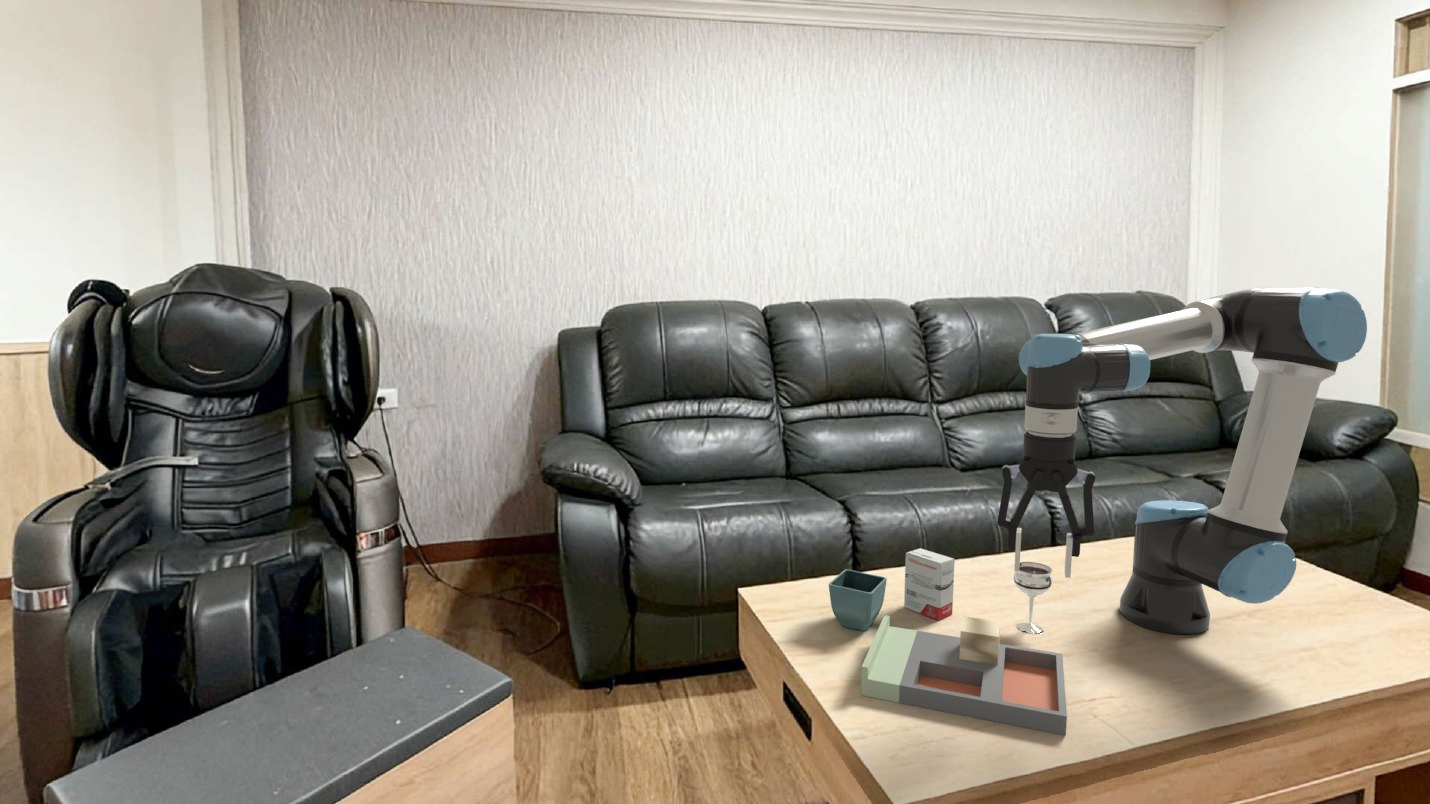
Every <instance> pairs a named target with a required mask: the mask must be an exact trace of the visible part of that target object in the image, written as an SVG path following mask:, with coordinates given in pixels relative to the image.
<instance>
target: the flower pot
mask: <svg viewBox="0 0 1430 804" xmlns="http://www.w3.org/2000/svg"><path fill="white" fill-rule="evenodd" d="M886 587H887V577H886V576H881V575H877V574H876V575H875V574H871V573H867V572H865V573H864V572H861V571H858V570H852V569H844V570H843V571H841V572H840V573H839V574H838V575H837V576H836V577H835V578H834V579H833V580H831V581H830V582H829V583H828V589H829V590H828V591H829V598H830V599H829V600H830V605H831V609H832V613H833V615H834V617H835V619H836V620H837V622H838V624H840V626H842V627H846V628H850V629H854V630H859V631H862V632H863V631H865V632H866V631H867V630H868V629H869V627H870V626H871V625H872V624H873V623H874V621H875V620H876V619H877V617H878V616H879V614H880V612H881V609H882V607H883V604H884V600H885V594H886Z"/></svg>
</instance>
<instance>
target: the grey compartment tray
mask: <svg viewBox="0 0 1430 804" xmlns="http://www.w3.org/2000/svg"><path fill="white" fill-rule="evenodd" d="M890 619H891V617H890V615H887V614H885V615H883V617H882V620H881V621H880V623H879V627H878V628H877V631H876V633H875V636H874V638H873V640H872V642H871V644H870V646H869V649H868V652H867V654H866V656H865V657H864V661H863V662H862V665H861V691H860V692H861V694H860V696H863V697H868V698H874V699H879V700H883V701H887V702H894V703H898V704H902V705H903V704H905V705H908V706H913V707H919V708H923V709H924V708H925V709H929V710H934V711H940V712H944V713H949V714H955V715H960V716H965V717H970V718H974V719H980V720H985V721H991V722H995V723H1000V724H1006V725H1011V726H1015V727H1020V728H1024V729H1025V728H1027V729H1032V730H1037V731H1039V732H1040V731H1041V732H1046V733H1052V734H1057V735H1062V736H1067V722H1068V715H1067V714H1068V713H1067V698H1066V686H1065V673H1064V672H1065V671H1064V657H1063V653H1060V652H1055V651H1054V652H1052V651H1046V650H1040V649H1036V648H1035V649H1034V648H1029V647H1022V646H1017V645H1009V644H1003V643H999V654H998V665H993V664H987V663H981V662H975V661H969V660H963V659H959V657H960V636H953V635H949V634H948V635H947V634H946V635H945V634H940V633H934V632H928V631H923V630H922V631H921V630H916V629H915V630H914V629H911V628H909V629H908V628H903V627H898V626H897V627H895V626H890V625H891V624H890V623H891V622H890Z"/></svg>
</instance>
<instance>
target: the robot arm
mask: <svg viewBox="0 0 1430 804" xmlns="http://www.w3.org/2000/svg"><path fill="white" fill-rule="evenodd" d="M1366 317H1367V316H1366V313H1365V311H1364V309H1363V308H1362V305H1361V303H1360V302H1359V300H1358V299H1357V298H1356V297H1355V296H1353V295H1352V294H1351V293H1349V292H1347V291H1345V290H1342V289H1341V290H1340V289H1331V288H1321V287H1317V286H1316V287H1315V286H1314V287H1303V288H1302V287H1299V288H1297V287H1296V288H1295V287H1292V288H1291V287H1287V288H1285V287H1284V288H1281V287H1280V288H1279V287H1278V288H1277V287H1276V288H1274V287H1272V288H1269V287H1255V288H1249V289H1242V290H1237V291H1234V292H1233V291H1232V292H1228V293H1225V294H1221V295H1217V296H1213V297H1209V298H1206V299H1205V298H1204V299H1201V300H1195V301H1193V302H1190V303H1188V304H1186V306H1185V307H1184V308H1183V309H1181V310H1176V311H1172V312H1168V313H1163V314H1160V315H1159V314H1158V315H1154V316H1150V317H1145V318H1141V319H1140V318H1139V319H1137V320H1136V319H1135V320H1132V321H1127V322H1124V323H1118V324H1114V325H1110V326H1105V327H1101V328H1097V329H1096V328H1095V329H1092V330H1088V331H1084V332H1078V333H1074V334H1071V333H1039V334H1035V335H1033V336H1032V338H1031V339H1029V340H1028V341H1027V342H1025V343H1024V344H1023V345H1022V347H1021V349H1020V351H1019V354H1018V355H1019V356H1018V362H1019V367H1020V370H1021V372H1022V373H1023V374H1024V375H1025V376H1026V393H1025V394H1026V395H1025V396H1026V397H1025V408H1024V410H1025V411H1024V429H1025V430H1026V432H1025V433H1024V434H1023V446H1022V447H1023V449H1022V450H1023V451H1022V459H1021V460H1020V462H1019V463H1018V464H1012V465H1010V464H1008V463H1007V464H1004V465H1003V466H1002V467H1001V474H1002V477H1003V486H1002V493H1001V499H1000V503H999V510H998V515H997V521H996V522H997V523H996V524H997V525H998V527H1003V528H1005V529H1006V530H1007V531H1008V537H1007V547H1008V549H1009V550H1012V551H1015V553H1014V554H1015V555H1014V565H1015V566H1014V567H1013V568H1014V569H1013V571H1014V572H1015V571H1018V572H1019V568H1020V562H1021V550H1022V549H1021V548H1022V547H1021V545H1022V530H1023V529H1022V528H1023V527H1019V525H1020V523H1021V522H1022V519H1023V517H1024V515H1025V512H1026V510H1027V508H1028V507H1029V505H1030V503H1031V500H1032V498H1033V497H1034V495H1035V493H1036V491H1038V492H1043V491H1048V492H1052V493H1058V496H1059V500H1060V502H1061V504H1062V508H1063V511H1064V513H1065V514H1064V515H1065V517H1066V519H1067V523H1068V525H1069V528H1070V531H1071V532H1066V543H1065V544H1066V545H1065V557H1064V558H1065V559H1064V560H1065V561H1064V578H1068V579H1069V578H1070V579H1071V575H1072V572H1071V571H1072V562H1073V561H1072V559H1073V558H1072V557H1074V558H1075V557H1076V558H1079V556H1080V554H1081V553H1080V552H1081V542H1082V541H1081V540H1082V538H1083V537H1087V536H1089V537H1091V536H1093V535H1094V534H1095V524H1094V523H1095V521H1094V506H1093V487H1094V484H1095V481H1096V474H1095V473H1094V471H1093V470H1087V471H1086V470H1083V469H1080V468H1078V467H1077V465H1076V462H1075V461H1076V458H1075V457H1076V443H1077V441H1076V440H1077V437H1076V436H1075V435H1074V433H1076V432H1077V429H1078V414H1079V413H1078V410H1079V402H1080V401H1079V400H1080V395H1084V394H1098V393H1099V394H1100V393H1101V394H1102V393H1115V392H1116V393H1120V394H1122V393H1124V392H1128V391H1129V392H1130V391H1135V390H1138V389H1140V388H1142V387H1143V386H1144V385H1146V383H1147V381H1148V379H1149V377H1150V374H1151V360H1156V359H1161V358H1165V357H1169V356H1173V355H1177V354H1183V353H1186V352H1190V351H1193V352H1196V353H1200V354H1206V353H1210V352H1214V351H1215V352H1216V351H1230V352H1231V351H1234V352H1245V353H1253V355H1252V358H1251V363H1253V365H1254V366H1255V367H1256V369H1257V371H1258V375H1257V379H1256V382H1255V386H1254V388H1253V389H1254V390H1253V392H1252V396H1251V400H1250V401H1249V406H1248V409H1247V413H1246V417H1245V420H1244V423H1243V427H1242V430H1241V433H1240V436H1239V440H1238V444H1237V447H1236V450H1235V454H1234V458H1233V461H1232V465H1231V468H1230V472H1229V474H1228V475H1229V476H1228V478H1227V482H1226V485H1225V489H1224V492H1223V496H1222V499H1221V503H1220V504H1218V505H1217V506H1214V507H1212V508H1209V507H1208V506H1207V505H1205V504H1202V503H1200V502H1194V501H1188V500H1187V501H1185V500H1170V499H1169V500H1168V499H1167V500H1165V499H1164V500H1162V499H1161V500H1151V501H1146V502H1143V503H1142V504H1141V505H1139V506H1138V509H1137V513H1136V514H1137V515H1136V520H1135V521H1134V524H1135V526H1134V539H1133V540H1134V542H1133V544H1134V545H1133V557H1132V558H1133V559H1132V572H1131V576H1130V577H1129V580H1128V581H1127V584H1126V587H1125V588H1124V589H1123V592H1122V594H1121V596H1120V600H1119V612H1120V613H1121V616H1123V618H1126V619H1127V620H1128V621H1130V622H1132V623H1134V624H1136V625H1138V626H1142V627H1143V628H1147V629H1150V630H1154V631H1158V632H1162V633H1167V634H1168V633H1169V634H1176V635H1177V634H1178V635H1193V634H1199V633H1203V632H1206V631H1207V630H1208V629H1209V628H1210V620H1211V613H1210V610H1209V606H1208V603H1207V599H1206V596H1205V592H1204V589H1203V585H1204V586H1206V587H1208V588H1210V589H1212V590H1215V591H1217V592H1219V593H1221V594H1222V595H1223V596H1225V597H1226V598H1231V599H1235V600H1237V601H1241V602H1244V603H1247V604H1252V605H1253V604H1263V603H1266V602H1269V601H1270V600H1273V599H1274V598H1275V597H1276V596H1279V595H1280V594H1281V593H1282V592H1284V591H1285V590H1286V588H1288V586H1289V584H1290V583H1291V582H1292V580H1293V578H1294V575H1295V573H1296V569H1297V559H1296V558H1295V557H1296V554H1295V552H1294V550H1293V549H1292V548H1291V547H1290V546H1289V545H1288V544H1287V543H1286V539H1287V536H1288V530H1287V528H1286V527H1285V525H1284V524H1283V523H1282V521H1281V517H1282V513H1283V509H1284V506H1285V502H1286V499H1287V496H1288V493H1289V490H1290V486H1291V484H1292V480H1293V477H1294V473H1295V469H1296V466H1297V462H1298V460H1299V456H1300V452H1301V450H1302V449H1301V448H1302V446H1303V442H1304V440H1305V436H1306V432H1307V429H1308V426H1309V423H1310V419H1311V415H1312V412H1313V409H1314V406H1315V402H1316V398H1317V395H1318V392H1319V389H1320V386H1321V383H1322V382H1324V381H1325V380H1327V379H1329V378H1331V377H1333V376H1334V375H1336V372H1337V368H1338V365H1339V363H1344V362H1346V361H1349V360H1351V359H1353V358H1354V357H1356V355H1357V353H1359V352H1360V351H1361V350H1362V349H1363V347H1364V344H1365V342H1366V338H1367V332H1368V322H1367V321H1368V320H1367V318H1366ZM1018 473H1021V475H1022V476H1023V477H1024V479H1025V480H1026V482H1027V483H1026V486H1025V489H1024V491H1023V493H1022V495H1021V497H1020V499H1019V501H1018V503H1017V506H1016V507H1015V509H1014V512H1013V513H1012V517H1011V519H1010V518H1008V517H1007V514H1008V509H1009V503H1010V497H1011V492H1012V487H1013V486H1012V485H1013V480H1015V479H1016V478H1017V475H1018ZM1075 477H1077V478H1078V483H1079V484H1080V485H1082V487H1081V488H1082V500H1083V501H1082V502H1083V519H1084V525H1080V524H1079V521H1078V519H1077V515H1076V513H1075V510H1074V507H1073V504H1072V501H1071V498H1070V495H1069V492H1068V488H1067V486H1068V484H1070V482H1072V480H1073V479H1074V478H1075Z"/></svg>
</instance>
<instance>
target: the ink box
mask: <svg viewBox="0 0 1430 804" xmlns="http://www.w3.org/2000/svg"><path fill="white" fill-rule="evenodd" d="M904 563H905V565H904V566H905V568H904V571H905V572H904V595H903V596H904V600H903V602H904V603H903V607H904V608H905V609H908V610H911V611H913V612H916V613H918V614H920V615H923V616H926V617H928V618H931V619H934V620H936V621H940V620H943V619H945V618H947V617H949V616H951V615H952V614H953V608H954V607H953V605H954V603H953V602H954V583H955V581H954V580H955V579H954V578H955V563H956V562H955V558H953V557H949V556H947V555H943V554H940V553H936V552H935V551H930V550H927V549H924V548H921V547H920V548H915V549H913V550H910V551H908V552H905V562H904Z"/></svg>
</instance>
